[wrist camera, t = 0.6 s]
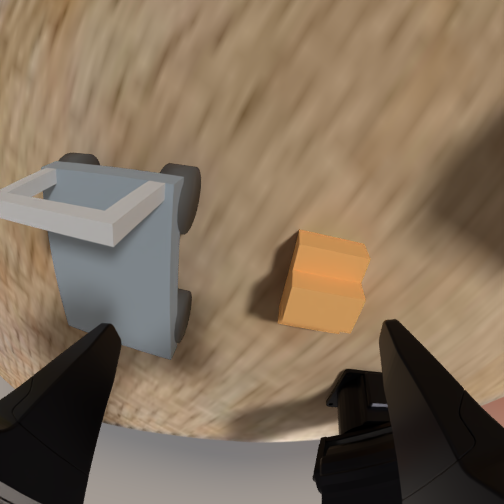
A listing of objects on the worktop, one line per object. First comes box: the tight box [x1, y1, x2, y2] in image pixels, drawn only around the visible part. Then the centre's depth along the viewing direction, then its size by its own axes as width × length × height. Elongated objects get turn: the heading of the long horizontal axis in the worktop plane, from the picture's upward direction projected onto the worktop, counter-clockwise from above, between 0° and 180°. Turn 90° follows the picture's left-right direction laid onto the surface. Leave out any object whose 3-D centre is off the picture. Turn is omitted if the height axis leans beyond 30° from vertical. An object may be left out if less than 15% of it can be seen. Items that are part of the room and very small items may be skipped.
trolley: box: [0, 153, 201, 360], centre depth 19 cm, size 14×10×11 cm
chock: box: [278, 230, 370, 334], centre depth 22 cm, size 7×5×4 cm
